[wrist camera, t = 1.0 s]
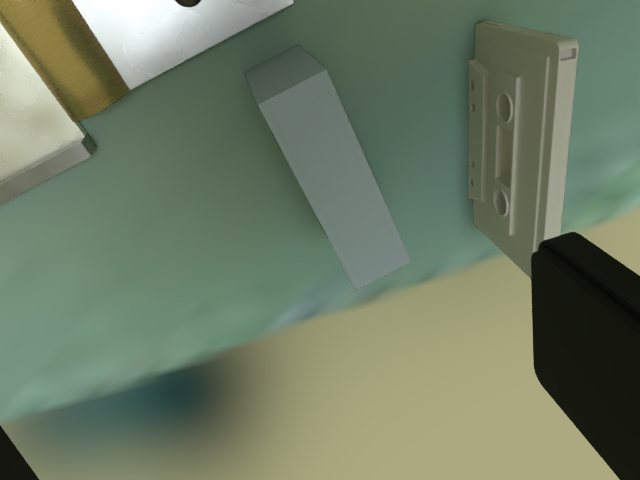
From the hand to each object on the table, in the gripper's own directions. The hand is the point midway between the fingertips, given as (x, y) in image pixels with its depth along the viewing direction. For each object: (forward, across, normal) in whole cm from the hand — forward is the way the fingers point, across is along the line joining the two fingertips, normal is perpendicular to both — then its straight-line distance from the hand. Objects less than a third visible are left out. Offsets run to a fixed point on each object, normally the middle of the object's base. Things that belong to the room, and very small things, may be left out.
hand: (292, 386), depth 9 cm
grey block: (+21, -4, +3) cm, 22 cm away
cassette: (+21, -14, +5) cm, 26 cm away
